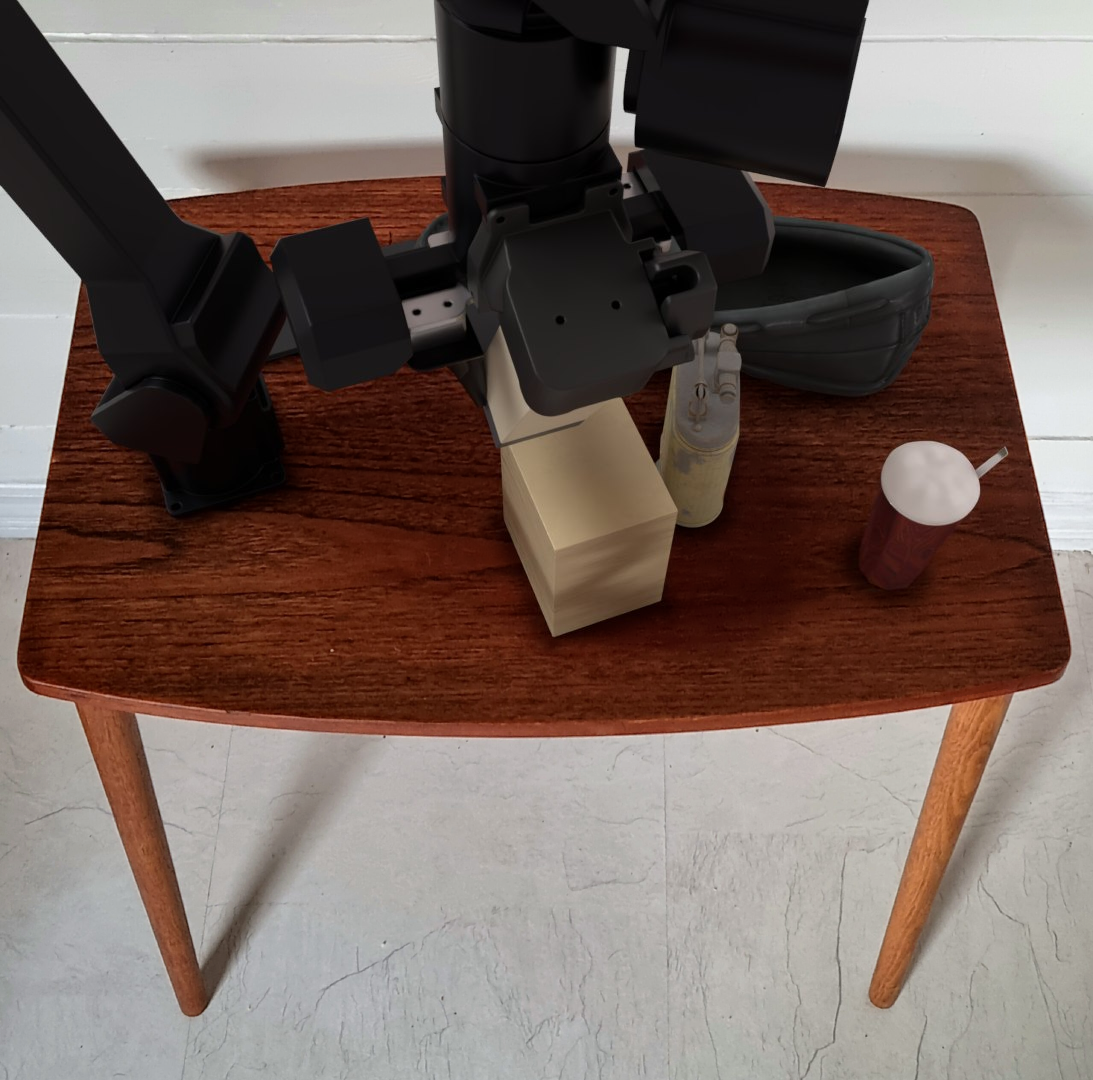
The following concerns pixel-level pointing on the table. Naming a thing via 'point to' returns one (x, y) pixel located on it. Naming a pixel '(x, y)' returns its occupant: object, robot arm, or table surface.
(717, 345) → the lighter
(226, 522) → the table surface
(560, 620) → the stand
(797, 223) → the loafer
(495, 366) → the white block
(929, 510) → the milkshake
